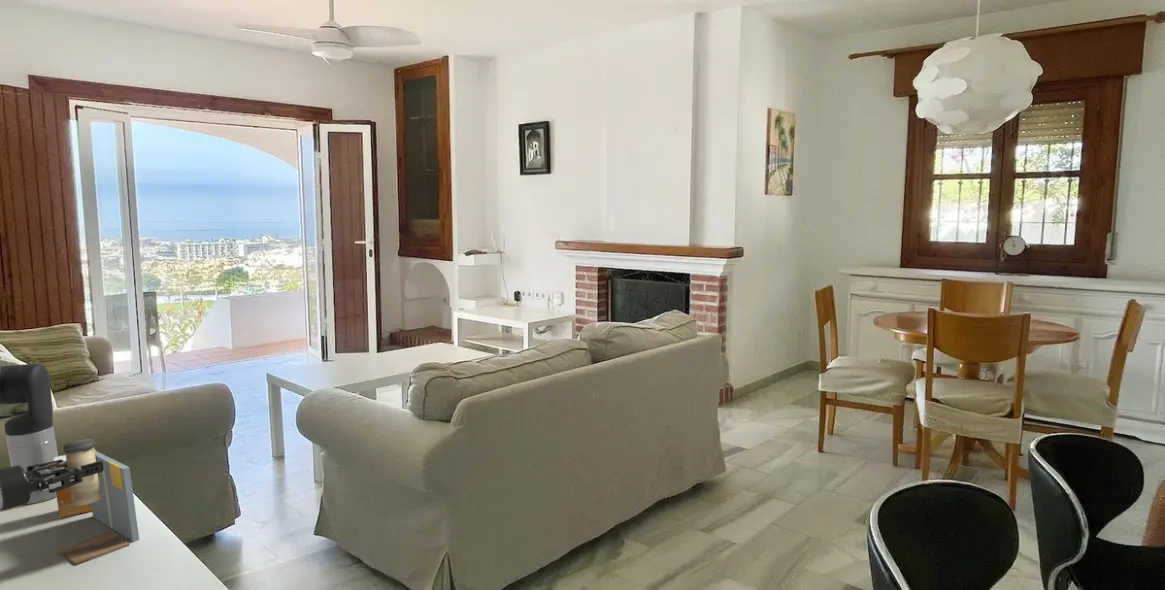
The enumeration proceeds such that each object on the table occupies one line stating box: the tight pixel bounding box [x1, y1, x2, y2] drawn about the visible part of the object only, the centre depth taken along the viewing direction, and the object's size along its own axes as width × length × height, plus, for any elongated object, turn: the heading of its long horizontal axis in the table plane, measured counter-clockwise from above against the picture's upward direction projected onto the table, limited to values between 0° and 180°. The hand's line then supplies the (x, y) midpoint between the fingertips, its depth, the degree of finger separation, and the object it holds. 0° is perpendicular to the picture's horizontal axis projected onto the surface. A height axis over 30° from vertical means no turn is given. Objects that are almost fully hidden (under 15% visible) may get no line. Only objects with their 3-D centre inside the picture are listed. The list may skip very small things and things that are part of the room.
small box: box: [54, 449, 97, 519], centre depth 164 cm, size 8×6×13 cm
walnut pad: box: [57, 530, 130, 566], centre depth 146 cm, size 10×10×1 cm
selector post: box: [62, 438, 101, 505], centre depth 143 cm, size 5×5×12 cm
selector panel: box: [91, 450, 140, 543], centre depth 154 cm, size 22×2×16 cm, turn 53°
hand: (97, 463), depth 145 cm, fingers closed on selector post, 4 cm apart
